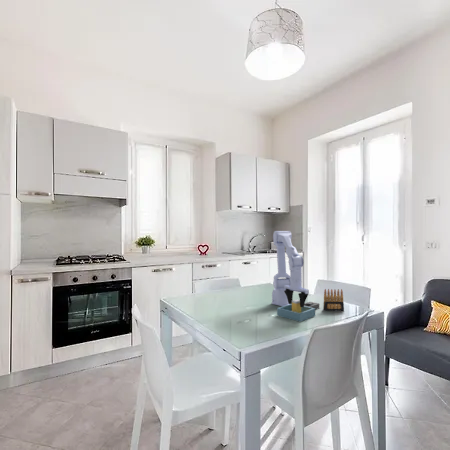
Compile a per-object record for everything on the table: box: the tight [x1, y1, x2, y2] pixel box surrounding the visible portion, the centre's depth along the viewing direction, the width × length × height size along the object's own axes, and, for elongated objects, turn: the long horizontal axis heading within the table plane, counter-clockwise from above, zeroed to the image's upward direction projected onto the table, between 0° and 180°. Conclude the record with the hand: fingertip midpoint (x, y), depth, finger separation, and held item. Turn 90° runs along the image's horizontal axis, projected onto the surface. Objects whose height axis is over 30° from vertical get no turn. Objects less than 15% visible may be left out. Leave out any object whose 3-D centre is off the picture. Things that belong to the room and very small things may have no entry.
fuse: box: [292, 298, 301, 313], centre depth 151 cm, size 3×4×7 cm
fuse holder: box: [304, 301, 320, 310], centre depth 162 cm, size 6×14×3 cm, turn 133°
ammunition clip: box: [323, 288, 345, 312], centre depth 160 cm, size 11×2×12 cm, turn 85°
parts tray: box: [276, 304, 316, 323], centre depth 151 cm, size 14×14×4 cm
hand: (296, 305), depth 151 cm, fingers open, 7 cm apart
